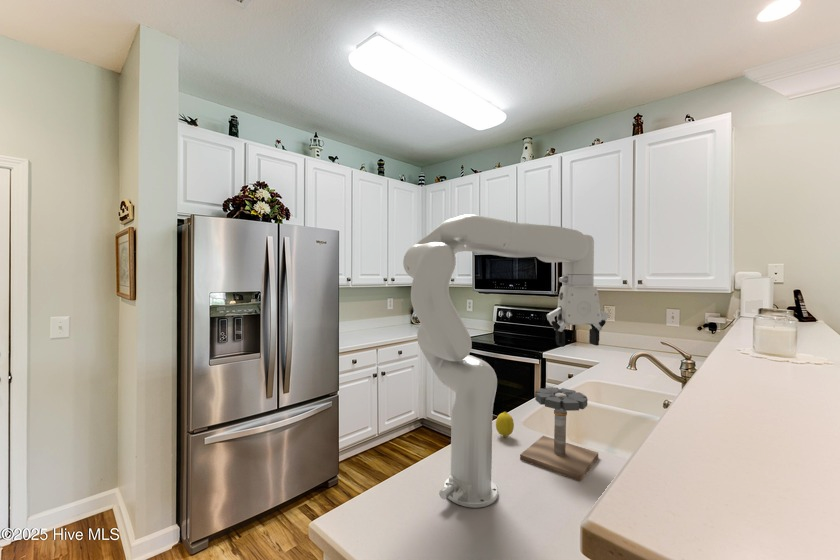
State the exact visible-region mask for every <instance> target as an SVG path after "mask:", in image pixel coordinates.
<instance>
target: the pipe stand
mask: <svg viewBox="0 0 840 560" xmlns="http://www.w3.org/2000/svg"><path fill="white" fill-rule="evenodd" d="M555 396H558V397H567V395H566V394H563V393H556V394H555ZM553 414H554V426H553V427H554V428H553V429H554V432H553V433H554V436H553V437H554V438H551V437H548V436H546V435H542V436H540V437H539V438H538V439H537V440H536V441H534V442H533V443H532V444H530V446H528V447H527V448H526V449H525V450H524V451H523V452H521V453H520V455H519V460H520V461H522V462H525V463H529V464H530V465H532V466H536V467H540V468H542V469H545V470H547V471H549V472H552V473H555V474H558V475H561V476H565V477H567V478H569V479H572V480H575V481H577V482H581V481H582V480H583V479H584V477H585V476H586V474H587V473H588V472H589V471H590V469H592V467H593V465H594V464H595V463H596V461H598V459H599V452H598V451H594V450H591V449H588V448H585V447H582V446H579V445H575V444H572V443H569V442H566V439H567V437H566V436H567V415H568V411H565V410H564V409H562V408H561V409H560V410H557V409H554V410H553Z"/></svg>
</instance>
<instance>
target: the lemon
mask: <svg viewBox="0 0 840 560" xmlns="http://www.w3.org/2000/svg"><path fill="white" fill-rule="evenodd" d="M495 427H496V431H497V433H498V434H499V435H501V436H502V437H503V438H507V437H508V436H510V435H511V434H512V433H513V431H514V429H515V428H514V427H515V421H514V419H513V417H512V416H511V415H510V413H508V412H507V411H503V412H501V413H499V414H498V416H497V418H496V421H495Z"/></svg>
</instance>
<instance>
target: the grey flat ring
mask: <svg viewBox="0 0 840 560" xmlns="http://www.w3.org/2000/svg"><path fill="white" fill-rule="evenodd" d="M556 393H563V394H566V395H567V397H558V396H555V394H556ZM534 397H535V398H534V399H535V401H536V402H537V403H538V404H539V405H543V406H544V407H546V408H550V409H554V410H555V409H557V410H560V409H561V408H562V409H564V410H565V411H567V412H568V411H580V410H584V409H586V408H587V407H588V400H589V399H588V397H587V396H586V395H585V394H583V393H582V392H579V391H578V392H577V391H576V390H573V389H568V388H564V387H562V388H558V387H544V388H541V387H540V388H539V389H537V390H535V395H534Z"/></svg>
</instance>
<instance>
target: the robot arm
mask: <svg viewBox="0 0 840 560" xmlns="http://www.w3.org/2000/svg"><path fill="white" fill-rule="evenodd" d="M460 252H461V253H462V252H473V253H479V254H485V255H492V256H499V257H506V258H534V257H536V258H537V259H538V260H539V261H541V262H543V263H562V264H563V265H562V266H563V267H562V276H561V277H558V282H559V283H562V286H560V289H559V294H558V299H557V308H556V309H554V310H552V311H550V312H549V313H547V314H546V318H547V320H548V322H549V324H550V326H551V327H552V328H553V329H554V331H555V343H556V345H557V346H559V347H562V348H563V347H566V332H565V331H564V330H565V329H566V328H567V326H568V325H573V326H577V325H578V326H579V325H588V326H590V329H589V331H588V332H589V333H588V334H589V335H588V336H589V337H588V338H589V341H588V342H589V344H590V345H593V346H599V345H600V331H602V328H603V327H604V326H605V324H606V321H607V319H608V318H609V315H610V314H609V313H608V312H606V311H604V310H602V308H601V305H600V297H599V292H598V288H597V286H594V283H595V282H594V279H595V278H594V277H595V276H594V274H595V273H594V272H595V270H594V269H595V267H594V266H595V265H594V264H595V255H594V254H595V239H594V237H593V236H592V235H589V234H584V233H583V232H581V231H579V230H577V229H573V228H569V227H568V228H567V227H563V226H559V225H558V226H557V225H550V224H549V225H548V224H547V225H546V224H545V225H544V224H537V223H536V224H535V223H534V224H533V223H527V222H526V223H524V222H514V221H508V220H504V219H499V218H498V219H497V218H492V217H489V216H484V215H483V216H482V215H480V214H479V215H478V214H472V213H471V214H467V213H466V214H463V215H458V216H456V217H453V218H449V219H446V220H445V221H443V222H442V223H441V224H439V225H438V226H436V228H434V229H433V230H432V231H430V232H429V233H428V234H427V235H425V236H424V237H422V238H421V239H420V240H418V241H417V242H415V243H414V244H413V245H411V246H410V247H409V248H408V250H407V251H406V252H405V254H404V256H403V260H402V261H403V262H402V263H403V265H402V266H403V269H404V271H405V273H406V274H407V275H408V276H409V277H410V278H412V283H411V288H410V302H411V306H412V308H413V311H414V313H415V315H416V318H417V319H418V321H419V323H420V324H419V326H418V328H417V332H416V333H417V334H416V336H417V337H416V339H417V342H418V346H419V348H420V350H421V351H422V353H423V355H424V357H425V358H426V361H427V362H428V364H429V365H430V367H431V369H432V370H433V372H434V374H435V375H436V376H437V378H438V380H439V381H440V382H441V383H442V384H443V385H444V386H446V387H447V388H449V389H450V390H452V391H453V392H454V393H455V400H454V403H453V406H452V410H451V416H450V417H451V419H450V420H451V421H450V425H451V426H450V427H451V430H450V431H451V432H450V437H451V438H450V475H449V476H448V478H446V479H445V481H444V483H443V488H442V489H441V490H439V496H440V499H442V500H443V501H444V500H447V499H448V500H450V501H451V502H453V503H454V504H457V505H459V506H462V507H466V508H474V509H476V508H477V509H478V508H483V507H487V506H490V505H492V504H493V503H495V501H497V499H498V496H499V489H498V486H497V485H496V482H494V481H493V480H492V469H493V468H492V466H493V465H492V464H493V463H492V462H493V461H492V458H493V455H492V454H493V411H494V403H495V398H496V394H497V393H496V392H497V388H498V378H497V374H496V372H495V369H494V368H493V367H492V366H491V365H490V364H489V363H488V362H487V361H485V360H483V359H481V358H478V357H476V356H474V355H470V353H471V351H472V346H473V345H472V344H473V343H472V338H471V335H470V332H469V330H468V329H467V327H466V325H465V323H464V322H463V320H462V318H461V316H460V314H459V313H458V311H457V309H456V307H455V305H454V303H453V301H452V299H451V295H450V290H449V289H450V288H449V287H450V284H451V283H450V282H451V279H452V276H453V274H454V271H455V269H456V263H457V261H456V259H457V257H456V254H457V253H460ZM555 317H557V321H556V319H555Z"/></svg>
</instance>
